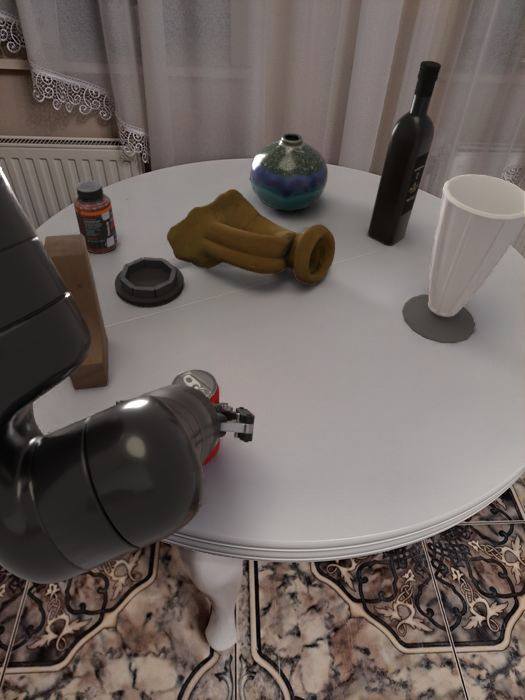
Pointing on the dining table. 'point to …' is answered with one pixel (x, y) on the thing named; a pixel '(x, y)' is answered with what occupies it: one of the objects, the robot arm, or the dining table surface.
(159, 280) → the socket pad
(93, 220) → the supplement bottle
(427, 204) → the dining table surface
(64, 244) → the wooden block
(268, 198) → the vase
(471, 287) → the cup
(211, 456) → the beverage can
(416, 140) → the wine bottle
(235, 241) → the brown looped sculpture
